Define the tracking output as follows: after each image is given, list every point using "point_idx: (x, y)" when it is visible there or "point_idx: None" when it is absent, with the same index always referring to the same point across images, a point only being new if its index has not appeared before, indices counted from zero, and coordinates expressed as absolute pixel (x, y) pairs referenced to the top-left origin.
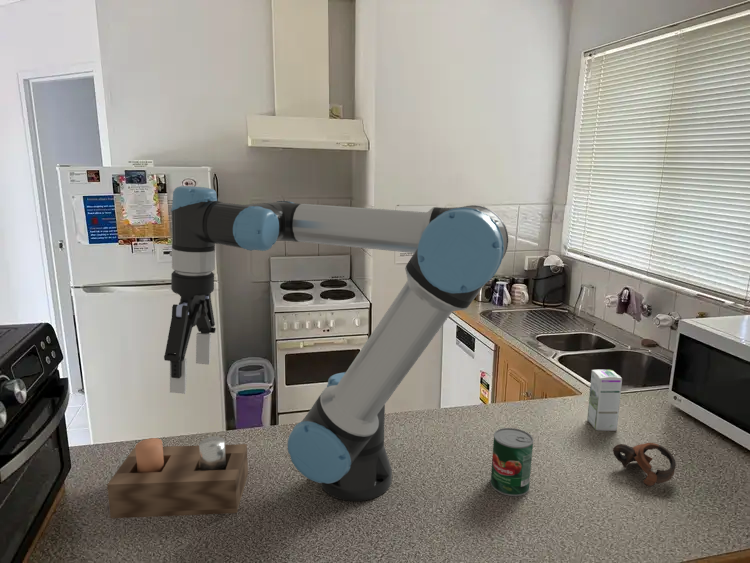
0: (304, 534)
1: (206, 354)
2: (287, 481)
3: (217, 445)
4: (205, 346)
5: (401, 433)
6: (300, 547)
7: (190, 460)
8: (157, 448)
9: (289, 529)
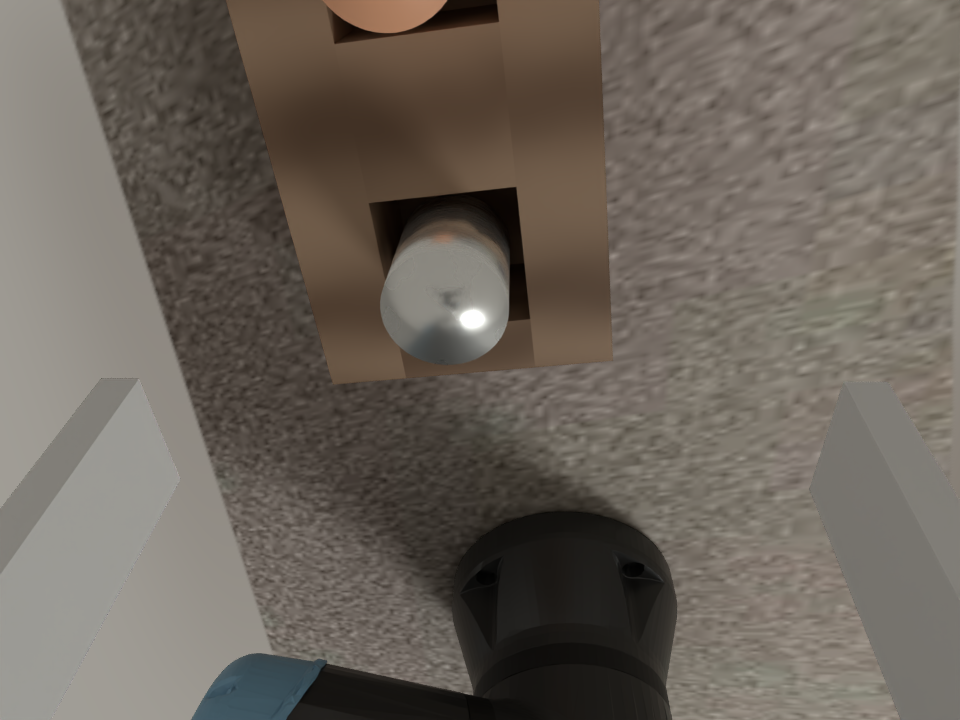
0: (302, 498)
1: (853, 563)
2: (549, 425)
3: (417, 343)
4: (898, 649)
5: (823, 685)
6: (253, 495)
7: (454, 153)
8: (354, 22)
9: (314, 464)
